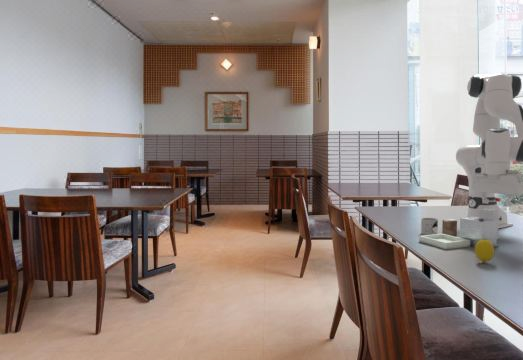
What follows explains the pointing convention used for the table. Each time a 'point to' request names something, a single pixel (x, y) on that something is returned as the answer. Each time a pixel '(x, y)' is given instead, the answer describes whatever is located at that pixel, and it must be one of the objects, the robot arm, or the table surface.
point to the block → (449, 227)
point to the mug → (429, 226)
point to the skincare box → (490, 216)
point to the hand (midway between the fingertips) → (495, 204)
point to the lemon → (484, 250)
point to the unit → (478, 230)
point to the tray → (444, 241)
